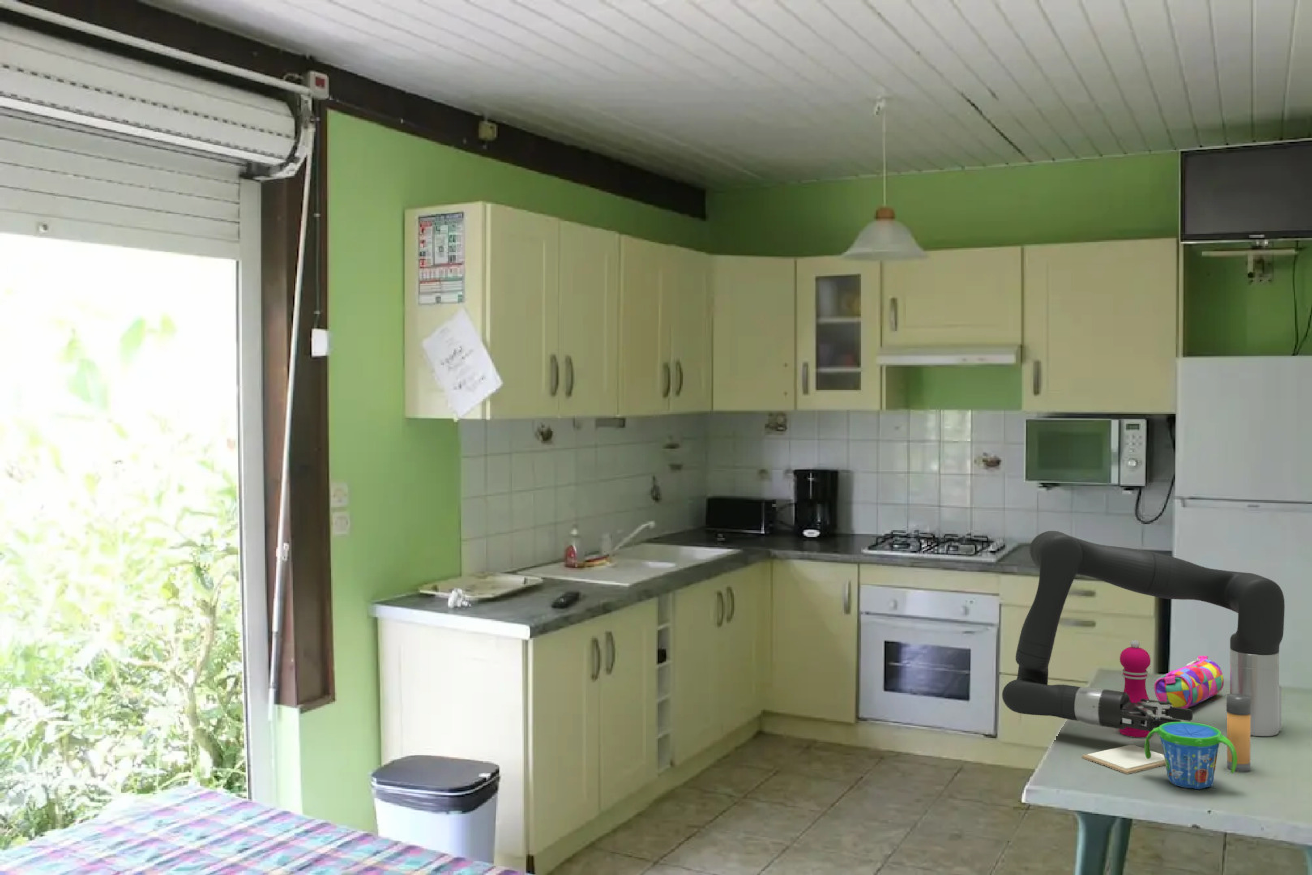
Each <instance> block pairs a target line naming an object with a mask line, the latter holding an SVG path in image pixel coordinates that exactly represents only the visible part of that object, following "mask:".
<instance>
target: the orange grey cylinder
mask: <svg viewBox="0 0 1312 875" xmlns="http://www.w3.org/2000/svg"><path fill="white" fill-rule="evenodd" d="M1225 698H1226V701H1225V702H1226V703H1225V704H1226V708H1225V709H1226V738H1228V739H1229V740H1230V741H1231V743H1232V744H1233V746H1234V748H1235V750H1236V754H1237V766H1236V769H1235V771H1234V772H1237V771H1239V773H1247V772H1250V771H1251V735H1250V721H1251V697H1250V696H1248V695H1244V694H1230V693H1229V694H1226V697H1225ZM1231 765H1232V754H1231V751H1230V748H1229V747H1228V746H1227V745H1226V769H1228V770H1230V771H1231Z"/></svg>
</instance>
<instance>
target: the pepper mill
mask: <svg viewBox="0 0 1312 875" xmlns="http://www.w3.org/2000/svg"><path fill="white" fill-rule="evenodd" d="M1140 645H1141V644H1140V642H1139V641H1138V640H1137V639H1132V640H1131V641H1130V646H1129V647H1126V648H1124V649H1123V650H1122V651H1121V652H1120V655H1119V662H1120V664H1121V666H1122V668H1123V669H1122V670H1121V671H1122V676H1123V677H1124V688H1123V692H1126V693H1127V694H1128V695H1129V698H1130V701H1131V702H1132V703H1138V701H1140V699H1148V700H1150V698H1149V696H1148V693H1147V688H1146V685H1147V684H1146V683H1147V682H1146V680H1147V679H1148V678H1149V676H1148V674H1149V671H1148V670H1147V669H1148V668H1149V667H1150V665H1151V657H1150V653H1149V652H1148V651H1147V650H1146V649H1144V648H1141V647H1140ZM1118 730H1119V733H1120V734H1122V735H1123V736H1127V737H1130V736H1132V737H1133V738H1147V736H1148V734H1149V733H1150V731H1146V730H1140V729H1135V728H1129V727H1126V728H1125V729H1118ZM1132 737H1131V738H1132Z"/></svg>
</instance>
